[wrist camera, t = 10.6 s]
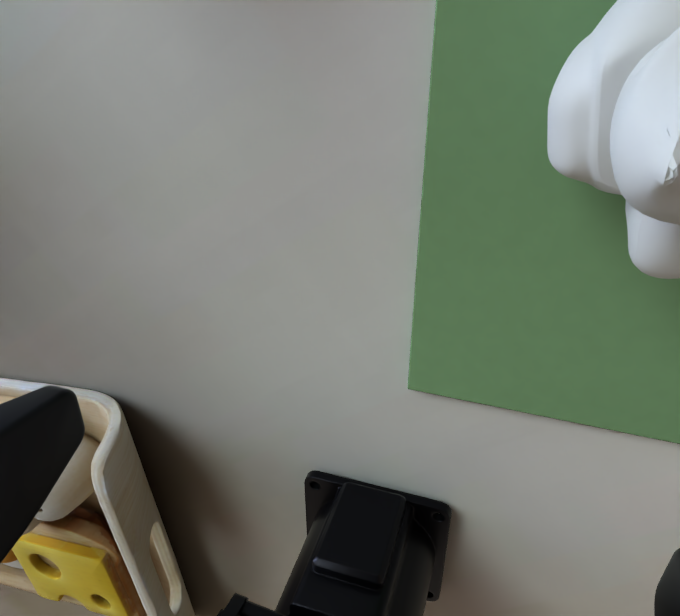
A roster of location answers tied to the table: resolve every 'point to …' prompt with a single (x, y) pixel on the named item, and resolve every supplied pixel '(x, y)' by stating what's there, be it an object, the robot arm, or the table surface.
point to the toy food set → (98, 525)
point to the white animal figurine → (627, 124)
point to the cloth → (530, 240)
